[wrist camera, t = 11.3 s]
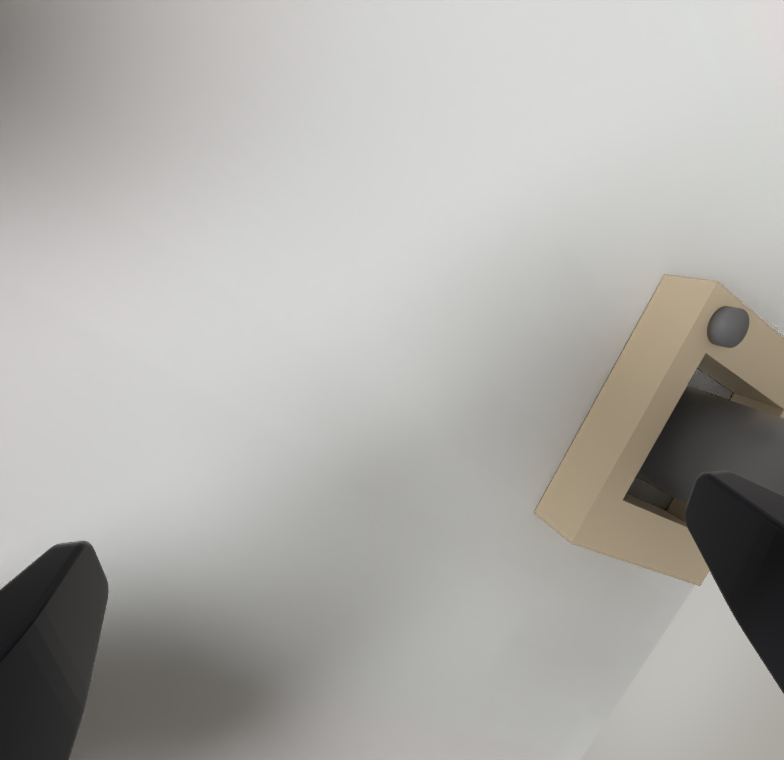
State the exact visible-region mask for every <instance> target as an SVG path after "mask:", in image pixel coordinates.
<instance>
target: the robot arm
mask: <svg viewBox="0 0 784 760" xmlns="http://www.w3.org/2000/svg"><path fill="white" fill-rule="evenodd" d="M685 522H686V525H687V528H688V530H689V532H690V534H691V536H692V538H693V540H694V541H695V543H696V545H697V547H698V549H699V551H700V553H701V555H702V557H703V559H704V561H705V562H706V564H707V566H708V568H709V570H710V572H711V574H712V576H713V578H714V580H715V582H716V583H717V585H718V587H719V589H720V591H721V593H722V595H723V597H724V599H725V601H726V602H727V604H728V606H729V608H730V609H731V611H732V613H733V615H734V617H735V618H736V620H737V622H738V623H739V625H740V626H741V628H742V630H743V632H744V633H745V635H746V636H747V638H748V639H749V641H750V643H751V644H752V646H753V647H754V649H755V650H756V652H757V653H758V654H759V656H760V658H761V659H762V661H763V663H764V664H765V666H766V667H767V669H768V670H769V672H770V673H771V675H772V676H773V678H774V680H775V681H776V683H777V684H778V685H779V687H780V689H781V690H782V692H783V693H784V496H783V495H781V494H779V493H777V492H774V491H772V490H770V489H768V488H766V487H763V486H761V485H759V484H757V483H755V482H753V481H750V480H748V479H746V478H744V477H742V476H739V475H737V474H735V473H733V472H730V471H725V470H721V471H712V472H704V473H701V474H700V475H699V476H698V477H697V478H696V480H695V483H694V486H693V488H692V491H691V494H690V497H689V500H688V503H687V506H686V509H685ZM107 599H108V582H107V578H106V576H105V574H104V571H103V569H102V567H101V564H100V562H99V560H98V557H97V555H96V552H95V550H94V548H93V546H92V545H91V544H90V543H89V542H87V541H78V542H69V543H60V544H57V545H54V546H53V547H51V548H50V549H49V550H47V551H46V552H45V553H44V554H43V555H41V556H40V557H39V558H38V559H37V560H35V561H34V562H33V563H32V564H31V565H29V566H28V567H27V568H26V569H25V570H23V571H22V572H21V573H20V574H19V575H17V576H16V577H15V578H14V579H13V580H11V581H10V582H9V583H8V584H7V585H5V586H4V587H3V588H2V589H1V590H0V760H69V757H70V754H71V751H72V748H73V744H74V741H75V738H76V735H77V732H78V729H79V725H80V722H81V718H82V715H83V712H84V708H85V703H86V699H87V695H88V691H89V686H90V681H91V676H92V671H93V667H94V662H95V657H96V652H97V647H98V643H99V638H100V633H101V628H102V623H103V619H104V614H105V609H106V604H107Z"/></svg>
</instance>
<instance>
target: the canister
mask: <svg viewBox="0 0 784 760" xmlns="http://www.w3.org/2000/svg"><path fill="white" fill-rule="evenodd" d="M721 470H725V471H730V472H733V473H735V474H737V475H739V476H742V477H744V478H746V479H748V480H750V481H753V482H755V483H757V484H759V485H761V486H763V487H766V488H768V489H770V490H772V491H774V492H777V493H779V494H781V495H783V496H784V418H781V417H778V416H775V415H772V414H769V413H766V412H763V411H761V410H758V409H755V408H752V407H749V406H746V405H743V404H740V403H737V402H734V401H731V400H728V399H725V398H722V397H719V396H716V395H713V394H710V393H707V392H704V391H701V390H699V389H696V388H693V387H690V386H687V387H686V389H685V390H684V392H683V394H682V396H681V397H680V399H679V401H678V403H677V405H676V406H675V408H674V410H673V412H672V413H671V415H670V417H669V419H668V420H667V422H666V424H665V426H664V428H663V429H662V431H661V433H660V435H659V436H658V438H657V440H656V442H655V443H654V445H653V447H652V449H651V451H650V452H649V454H648V456H647V458H646V459H645V461H644V463H643V465H642V466H641V468H640V470H639V472H638V474H637V475H636V476H637V477H638V478H640V479H642V480H644V481H645V482H647V483H649V484H651V485H652V486H654V487H656V488H658V489H660V490H661V491H663V492H665V493H667V494H668V495H670V496H672V497H674V498H675V499H677V500H679V501H681V502H682V503H684V504H686V505H687V503H688V500H689V497H690V494H691V491H692V488H693V486H694V483H695V480H696V478H697V477H698V476H699V475H700V474H701V473H704V472H712V471H721Z"/></svg>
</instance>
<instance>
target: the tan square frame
mask: <svg viewBox="0 0 784 760" xmlns="http://www.w3.org/2000/svg"><path fill="white" fill-rule="evenodd" d="M697 368H698V369H700V370H701V371H702V372H704V373H705V374H707V375H708V376H710V377H711V378H713V379H714V380H716V381H717V382H718V383H720V384H721V385H723V386H724V387H726V388H727V389H729V390H730V391H732V392H733V393H734V394H733V396H732V398H731V399H730V400H731V401H734V402H737V403H740V404H743V405H746V406H749V407H752V408H755V409H758V410H761V411H763V412H766V413H769V414H772V415H775V416H778V417H781V418H784V338H783V337H782V336H781V335H779V334H778V333H777V332H776V331H775V330H774V329H772V328H771V327H770V326H769V325H768V324H767V323H765V322H764V321H763V320H762V319H761V318H760V317H758V316H757V315H756V314H755V313H754V312H753V311H751V310H750V309H749V308H748V307H747V306H746V305H744V304H743V303H742V302H741V301H740V300H739V299H737V298H736V297H735V296H734V295H733V294H732V293H730V292H729V291H728V290H727V289H726V288H725V287H723V286H722V285H721V284H720V283H719V282H718V281H710V280H703V279H695V278H687V277H680V276H672V275H664V276H663V278H662V280H661V282H660V284H659V286H658V287H657V289H656V291H655V293H654V295H653V297H652V298H651V300H650V302H649V304H648V306H647V307H646V309H645V311H644V313H643V315H642V317H641V318H640V320H639V322H638V324H637V326H636V328H635V329H634V331H633V333H632V335H631V337H630V338H629V340H628V342H627V344H626V346H625V348H624V349H623V351H622V353H621V355H620V357H619V359H618V360H617V362H616V364H615V366H614V368H613V369H612V371H611V373H610V375H609V377H608V379H607V380H606V382H605V384H604V386H603V388H602V390H601V391H600V393H599V395H598V397H597V399H596V400H595V402H594V404H593V406H592V408H591V410H590V411H589V413H588V415H587V417H586V419H585V421H584V422H583V424H582V426H581V428H580V430H579V431H578V433H577V435H576V437H575V439H574V441H573V442H572V444H571V446H570V448H569V450H568V451H567V453H566V455H565V457H564V459H563V461H562V462H561V464H560V466H559V468H558V470H557V472H556V473H555V475H554V477H553V479H552V481H551V482H550V484H549V486H548V488H547V490H546V492H545V493H544V495H543V497H542V499H541V501H540V503H539V504H538V506H537V508H536V510H535V512H534V513H535V514H536V515H537V516H538V517H540V518H541V519H542V520H543V521H544V522H546V523H547V524H548V525H549V526H550V527H552V528H553V529H554V530H555V531H557V532H558V533H559V534H560V535H561V536H563V537H564V538H565V539H566V540H568V541H569V542H570V543H571V544H574V545H577V546H581V547H584V548H587V549H590V550H593V551H596V552H599V553H602V554H605V555H608V556H611V557H614V558H617V559H620V560H623V561H626V562H629V563H632V564H635V565H638V566H641V567H644V568H647V569H650V570H653V571H656V572H659V573H662V574H665V575H668V576H671V577H674V578H677V579H680V580H683V581H686V582H689V583H692V584H695V585H698V586H700V585H701V584H702V582H703V580H704V579H705V577H706V575H707V574H708V572H709V568H708V566H707V564H706V562H705V561H704V559H703V557H702V555H701V553H700V551H699V549H698V547H697V545H696V543H695V541H694V540H693V538H692V536H691V534H690V532H689V530H688V528H687V525H686V522H685V509H686V506H687V505H686V504H684V503H682V502H681V501H679V500H677V499H675V498H673V500H672V502H671V504H670V505H669V507H668V509H667V511H666V510H663V509H661V508H659V507H656V506H654V505H652V504H649V503H647V502H645V501H642V500H640V499H638V498H635V497H633V496H631V495H628V494H626V493H627V491H628V489H629V488H630V486H631V484H632V482H633V481H634V479H635V477H636V475H637V474H638V472H639V470H640V468H641V466H642V465H643V463H644V461H645V459H646V458H647V456H648V454H649V452H650V451H651V449H652V447H653V445H654V443H655V442H656V440H657V438H658V436H659V435H660V433H661V431H662V429H663V428H664V426H665V424H666V422H667V420H668V419H669V417H670V415H671V413H672V412H673V410H674V408H675V406H676V405H677V403H678V401H679V399H680V397H681V396H682V394H683V392H684V390H685V389H686V387H687V385H688V383H689V382H690V380H691V378H692V376H693V374H694V373H695V371H696V369H697Z"/></svg>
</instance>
